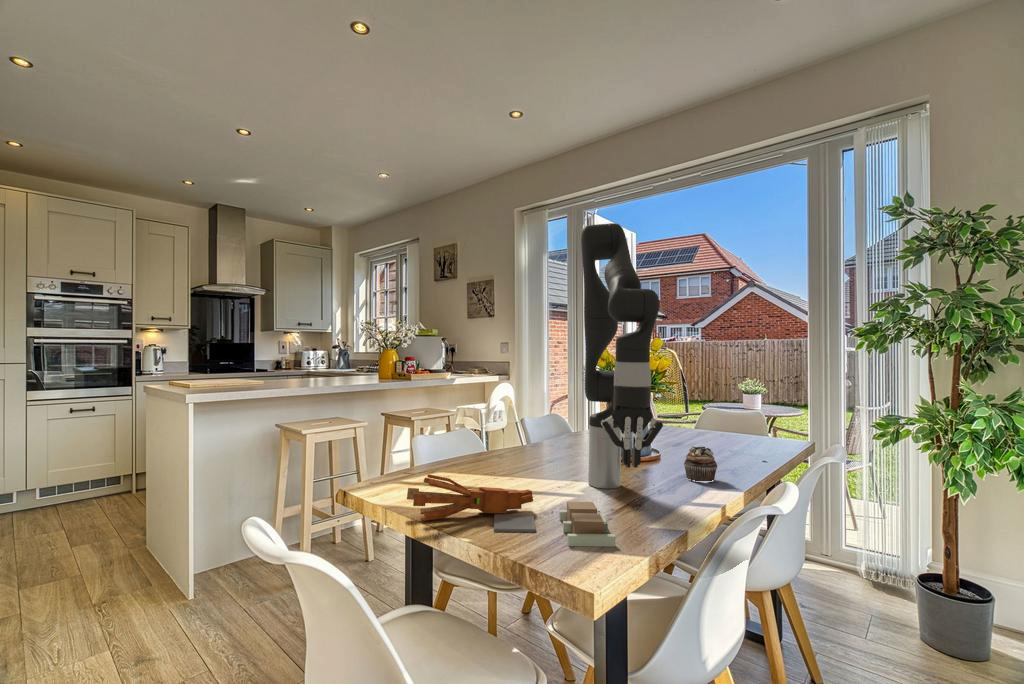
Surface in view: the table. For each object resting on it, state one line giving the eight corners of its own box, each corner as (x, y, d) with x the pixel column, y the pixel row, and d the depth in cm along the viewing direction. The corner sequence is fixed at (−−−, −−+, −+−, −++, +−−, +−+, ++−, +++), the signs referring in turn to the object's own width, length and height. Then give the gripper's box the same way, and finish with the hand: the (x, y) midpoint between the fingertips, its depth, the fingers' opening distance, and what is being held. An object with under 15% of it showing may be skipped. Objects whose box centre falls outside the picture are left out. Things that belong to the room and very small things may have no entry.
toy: (399, 502, 115) (512, 498, 129) (410, 533, 106) (531, 525, 119) (407, 465, 113) (521, 465, 127) (418, 493, 103) (541, 489, 117)
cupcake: (677, 476, 154) (677, 444, 154) (703, 475, 157) (704, 443, 157) (696, 485, 145) (696, 451, 145) (724, 483, 147) (724, 449, 148)
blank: (571, 534, 105) (571, 513, 105) (599, 534, 105) (599, 513, 105) (573, 543, 100) (574, 521, 100) (603, 544, 100) (603, 521, 100)
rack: (559, 518, 114) (559, 499, 114) (600, 519, 114) (600, 499, 114) (567, 545, 98) (568, 523, 98) (615, 546, 98) (615, 523, 98)
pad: (494, 517, 114) (494, 514, 114) (533, 517, 114) (533, 514, 114) (493, 531, 105) (493, 528, 105) (535, 532, 105) (535, 529, 105)
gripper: (658, 383, 107) (657, 463, 107) (596, 382, 107) (595, 462, 106) (670, 385, 99) (669, 471, 99) (603, 384, 99) (602, 470, 99)
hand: (630, 466), depth 103 cm, fingers closed
